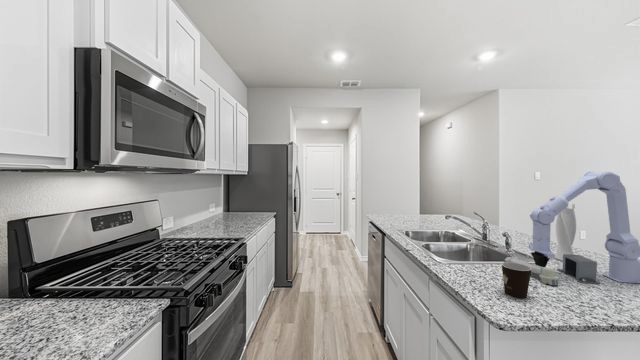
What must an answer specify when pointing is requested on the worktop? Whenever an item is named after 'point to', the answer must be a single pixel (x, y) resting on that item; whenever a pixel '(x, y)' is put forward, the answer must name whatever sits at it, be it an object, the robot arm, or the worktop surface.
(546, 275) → the light grey piece
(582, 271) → the bracket sleeve
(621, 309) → the worktop surface
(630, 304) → the worktop surface
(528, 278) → the coffee mug
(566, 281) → the worktop surface
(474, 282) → the worktop surface
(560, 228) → the skyscraper
